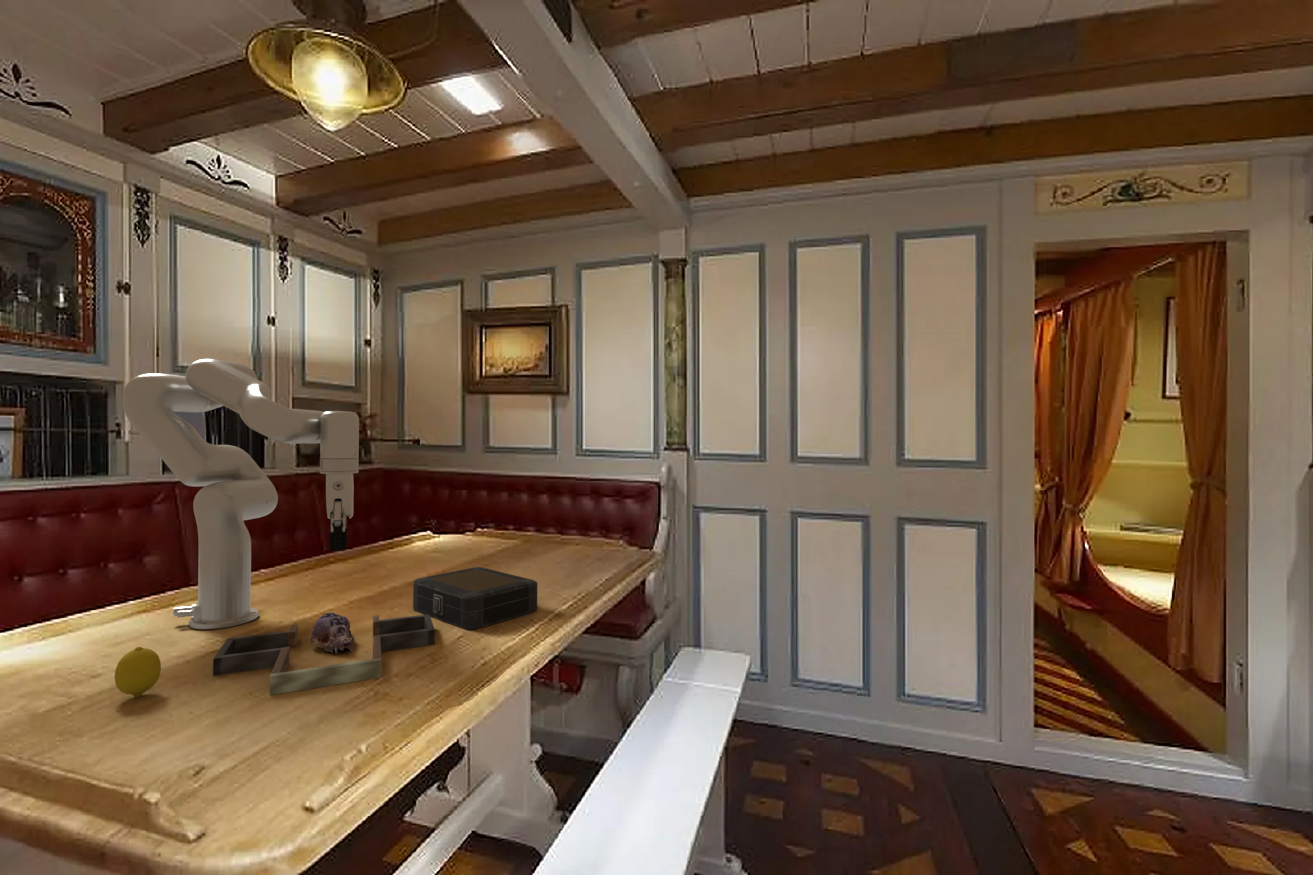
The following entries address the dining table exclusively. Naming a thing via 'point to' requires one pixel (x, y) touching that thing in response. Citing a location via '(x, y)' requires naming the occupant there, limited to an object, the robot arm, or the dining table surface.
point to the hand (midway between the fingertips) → (338, 547)
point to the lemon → (137, 671)
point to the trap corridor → (275, 653)
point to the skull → (332, 633)
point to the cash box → (474, 597)
